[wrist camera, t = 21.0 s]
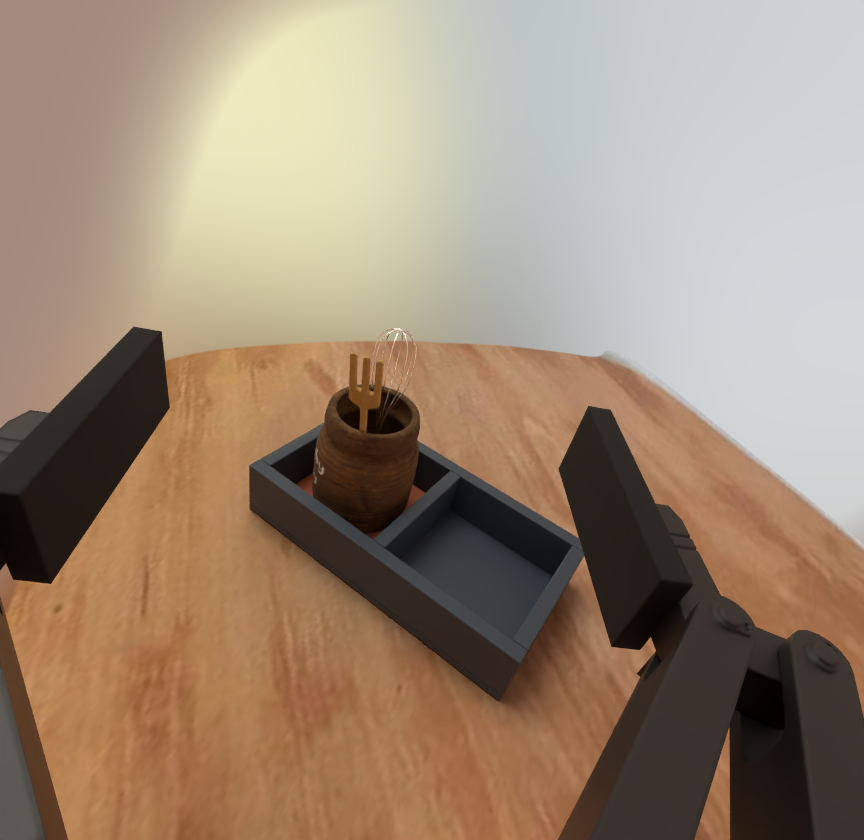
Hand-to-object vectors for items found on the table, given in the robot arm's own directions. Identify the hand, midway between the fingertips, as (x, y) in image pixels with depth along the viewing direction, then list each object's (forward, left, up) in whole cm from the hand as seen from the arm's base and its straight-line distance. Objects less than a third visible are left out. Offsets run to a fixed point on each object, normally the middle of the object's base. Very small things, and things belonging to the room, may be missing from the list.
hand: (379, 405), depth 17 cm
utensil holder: (-6, +8, -14) cm, 17 cm away
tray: (-1, +8, -15) cm, 17 cm away
